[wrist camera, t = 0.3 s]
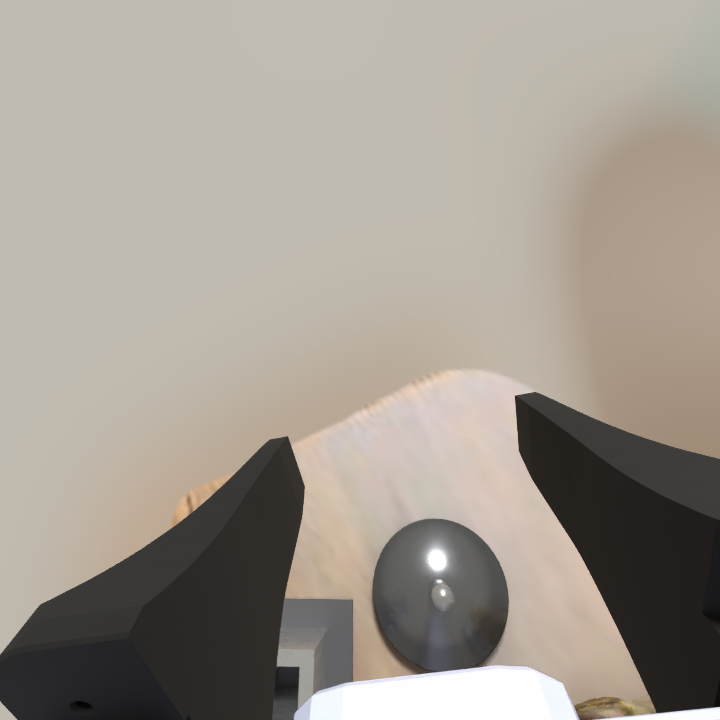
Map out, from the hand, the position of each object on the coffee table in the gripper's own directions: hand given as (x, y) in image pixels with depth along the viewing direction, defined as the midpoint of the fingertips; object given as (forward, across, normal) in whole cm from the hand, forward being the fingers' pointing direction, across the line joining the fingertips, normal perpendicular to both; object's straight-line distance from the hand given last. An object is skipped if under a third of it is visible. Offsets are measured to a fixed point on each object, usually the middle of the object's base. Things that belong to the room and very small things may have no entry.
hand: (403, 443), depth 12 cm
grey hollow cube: (+11, +14, +29) cm, 34 cm away
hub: (+15, 0, +27) cm, 31 cm away
